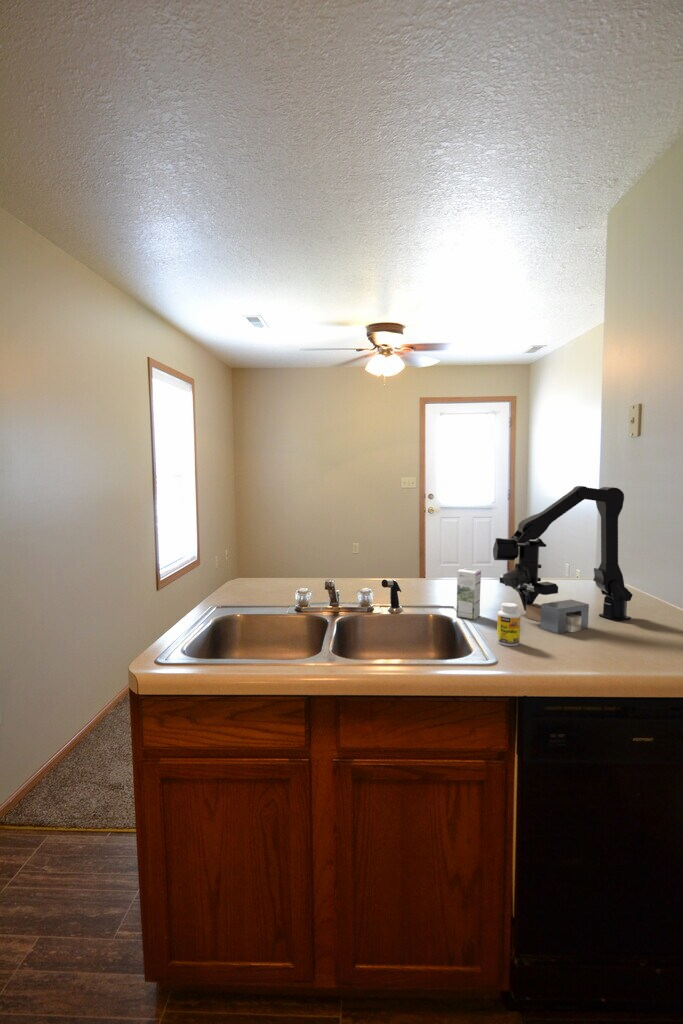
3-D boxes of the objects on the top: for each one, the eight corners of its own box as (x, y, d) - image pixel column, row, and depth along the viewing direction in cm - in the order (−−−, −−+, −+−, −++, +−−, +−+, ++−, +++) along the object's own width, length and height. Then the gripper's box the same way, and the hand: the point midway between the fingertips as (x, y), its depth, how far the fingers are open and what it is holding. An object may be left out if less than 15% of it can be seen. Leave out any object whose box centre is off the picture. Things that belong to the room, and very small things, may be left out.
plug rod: (534, 616, 161) (535, 603, 161) (580, 630, 147) (581, 616, 147) (525, 617, 159) (526, 604, 159) (571, 632, 145) (571, 618, 145)
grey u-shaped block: (570, 622, 154) (571, 599, 154) (587, 628, 149) (588, 604, 149) (540, 628, 149) (541, 603, 149) (557, 634, 144) (558, 608, 143)
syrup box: (480, 615, 161) (481, 569, 160) (474, 620, 156) (475, 572, 155) (462, 613, 164) (463, 567, 163) (455, 617, 159) (456, 570, 158)
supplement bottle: (496, 645, 134) (497, 606, 133) (497, 638, 139) (498, 600, 138) (519, 647, 132) (521, 608, 131) (519, 641, 138) (520, 602, 137)
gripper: (487, 557, 165) (485, 606, 166) (532, 568, 148) (530, 622, 150) (513, 555, 170) (512, 602, 171) (560, 565, 153) (558, 617, 155)
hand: (526, 611), depth 162 cm, fingers closed
